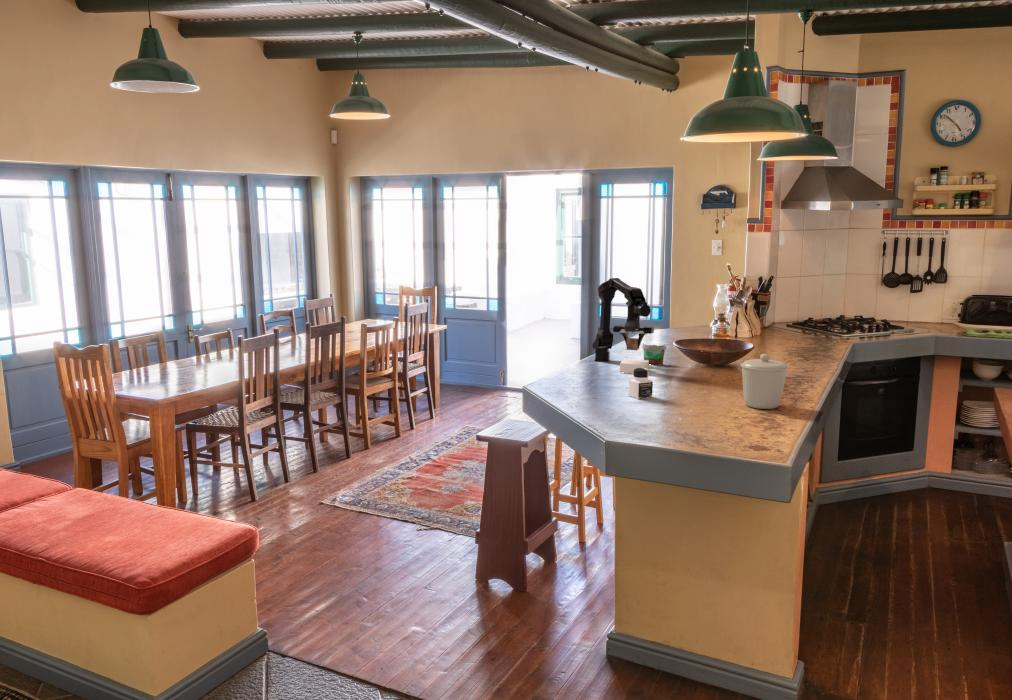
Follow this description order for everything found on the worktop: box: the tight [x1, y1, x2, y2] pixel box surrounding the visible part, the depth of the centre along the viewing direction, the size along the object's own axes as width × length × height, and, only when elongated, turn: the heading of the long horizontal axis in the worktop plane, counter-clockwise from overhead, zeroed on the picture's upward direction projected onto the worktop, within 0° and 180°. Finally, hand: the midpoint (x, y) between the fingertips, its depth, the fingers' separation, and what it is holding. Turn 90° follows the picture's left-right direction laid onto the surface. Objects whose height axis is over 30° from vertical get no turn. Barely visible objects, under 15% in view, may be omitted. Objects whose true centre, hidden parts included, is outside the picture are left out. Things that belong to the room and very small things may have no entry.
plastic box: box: [619, 358, 650, 374], centre depth 382 cm, size 12×12×5 cm
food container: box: [641, 343, 667, 366], centre depth 399 cm, size 12×6×10 cm, turn 62°
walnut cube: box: [626, 337, 640, 351], centre depth 381 cm, size 5×5×5 cm
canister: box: [740, 353, 790, 410], centre depth 312 cm, size 18×18×21 cm
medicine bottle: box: [628, 368, 654, 400], centre depth 328 cm, size 7×7×12 cm
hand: (633, 347), depth 381 cm, fingers closed on walnut cube, 5 cm apart
